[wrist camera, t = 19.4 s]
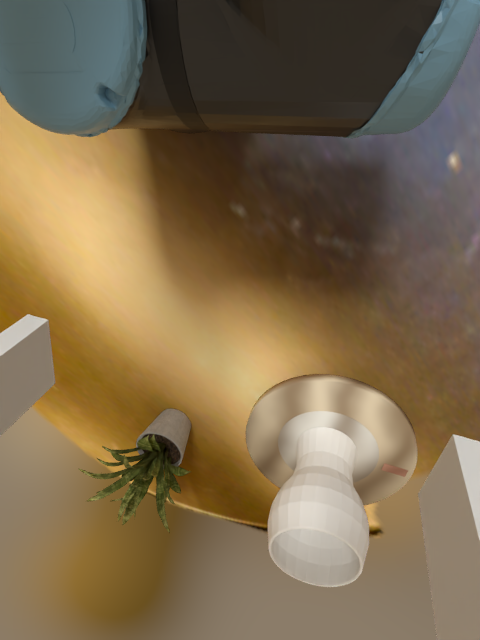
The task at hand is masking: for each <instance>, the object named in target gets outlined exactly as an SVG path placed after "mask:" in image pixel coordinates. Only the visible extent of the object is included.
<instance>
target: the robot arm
mask: <svg viewBox="0 0 480 640" xmlns="http://www.w3.org/2000/svg"><path fill="white" fill-rule="evenodd" d="M479 23H480V0H0V91H1V93H2V94H3V95H4V96H5V98H6V100H7V102H8V103H9V105H10V106H11V107H12V108H13V109H14V110H15V111H17V112H18V113H19V114H20V115H21V116H23V117H24V118H25V119H27V120H28V121H30V122H31V123H33V124H35V125H37V126H39V127H41V128H43V129H45V130H48V131H51V132H54V133H59V134H67V135H76V136H81V137H93V136H97V135H99V134H101V133H104V132H107V131H108V130H111V129H130V128H140V129H169V130H172V131H176V132H182V133H200V132H205V131H209V130H213V131H225V132H248V133H270V134H293V135H315V136H338V137H343V138H356V137H359V136H361V135H376V134H397V133H403V132H406V131H409V130H412V129H414V128H415V127H417V126H418V125H420V124H421V123H423V122H424V121H425V120H426V119H427V118H428V117H429V116H430V115H431V114H432V113H433V112H434V111H435V109H436V108H437V107H438V106H439V104H440V103H441V101H442V100H443V98H444V97H445V95H446V93H447V92H448V90H449V88H450V87H451V85H452V83H453V81H454V79H455V78H456V76H457V73H458V71H459V69H460V67H461V65H462V63H463V61H464V59H465V57H466V54H467V52H468V50H469V48H470V45H471V43H472V41H473V38H474V36H475V33H476V31H477V28H478V26H479ZM54 384H55V377H54V368H53V359H52V349H51V340H50V331H49V322H48V320H46V319H43V318H39V317H36V316H32V315H29V314H28V315H26V316H25V317H23V318H22V319H20V320H19V321H18V322H16V323H15V324H13V325H12V326H10V327H9V328H7V329H6V330H5V331H3V332H2V333H0V437H1V436H2V435H3V434H4V433H5V432H6V431H7V430H8V429H9V428H10V427H11V426H12V425H13V424H14V423H15V422H16V421H17V420H18V419H19V418H20V417H21V416H22V415H23V414H24V413H25V412H26V411H27V410H28V409H29V408H30V407H31V406H32V405H33V404H34V403H35V402H36V401H37V400H38V399H39V398H40V397H42V396H43V395H44V394H45V393H46V392H47V391H48V390H49V389H50V388H51V387H52V386H53V385H54ZM418 496H419V504H420V512H421V519H422V527H423V535H424V543H425V550H426V558H427V565H428V573H429V581H430V588H431V596H432V604H433V612H434V619H435V627H436V635H437V640H480V442H479V441H475V440H472V439H468V438H465V437H461V436H457V435H454V434H453V435H452V437H451V438H450V440H449V442H448V444H447V445H446V447H445V449H444V450H443V452H442V454H441V456H440V457H439V459H438V461H437V462H436V464H435V466H434V467H433V469H432V471H431V473H430V474H429V476H428V478H427V480H426V481H425V483H424V485H423V486H422V488H421V490H420V492H419V493H418Z"/></svg>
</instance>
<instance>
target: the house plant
mask: <svg viewBox="0 0 480 640" xmlns="http://www.w3.org/2000/svg"><path fill="white" fill-rule="evenodd" d="M190 430H191V422H190V420H189V419H188V417H187V416H186V415H185V414H184V413H183V412H181V411H179V410H176V409H166V410H164V411H163V412H162V413H161V414H160V415H159V416H158V417H157V418H156V419H155V420H154V421H153V422H152V423H151V424H150V426H149V427H148V428H147V429H146V430H145V431H144V432H143V433H142V434H141V435H140V436H139V438H138V439H137V442H136V446H137V448H134V449H127V450H111V449H108V448H106V447H103V446H102V447H103V448H104V449H106V450H107V451H109V452H111V454H112V456H113V457H114V458H115V459H116V460H118V461H121V462H119V463H108V462H104V461H102V460H100V459H98V460H99V461H100V462H101V463H103V464H105V465H107V466H119V465H123V464H124V465H125V467H126V468H127V469H124V470H122V471H118V472H115V473H110V474H94V473H90V472H87V471H85V470H81V469H79V470H80V471H82V472H83V473H85V474H86V475H88V476H91V477H93V478H97V479H109V478H114V477H117V476H119V475H122V478H121V479H120V480H118V481H116V482H115V483H113V484H112V485H110V486H109V487H107V488H105V489H104V490H102V491H99V492H97V493H99V494H97V495H96V496H94V497H92V498H90V499H89V500H87V501H95V500H98V499H101V498H104V497H105V496H107V495H109V494H111V493H113V492H115V491H116V490H118V489H120V488H121V487H123V486H124V485H126V484H127V483H128V482H129V481H132V480H133V479H134V481H133V483H132V484H131V485H130V487H129V489H128V491H127V492H126V494H125V496H124V498H121V499H117V500H122V503H121V506H120V510H119V514H118V520H120V517H121V515H122V513H123V511H124V509H125V507H126V511H125V514H124V517H123V524H125V523H126V522H127V521H128V520H129V519H130V517H131V516H132V514H133V513H134V516H135V512H136V508H137V506H138V505H139V503H140V502H141V500H142V499H143V497H144V496H145V494H146V493H147V491H148V487H149V485H150V484H151V482H152V480H153V478H154V477H156V480H157V489H156V502H157V510H158V513H159V516H160V518H161V520H162V522H163V525H164V527H165V528H166V529H167V530H168V531H169V528H168V524H167V520H166V514H165V507H164V502H166V498H167V497H168V499H169V501H170V502H171V503H173V504H174V501H173V500H172V498H171V497H170V494H169V489H170V488H171V489H172V490H174V491H175V492H177V493H181V489H180V487H179V484H178V483H177V481H176V479H175V477H174V475H173V473H174V474H175V475H177V476H183V475H186V474H187V473H189V472H191V471H187V470H185V469H183V468H180V467H178V466H179V465H180V464H181V462H182V459H183V455H184V452H185V448H186V444H187V441H188V437H189V433H190ZM137 450H138V453H139V454H140V455H139V456H133V457H125V454H124V456H122V455H119V454H123V453H129V452H133V451H137ZM141 459H142V460H141ZM138 460H140V461H139V462H138V463H137V464H135V465H133V466H130V465H129V463H128V462H134V461H138ZM163 469H164V470H163ZM164 472H165V479H164ZM164 491H165V492H164ZM117 500H112V501H117ZM174 505H175V504H174ZM169 532H170V531H169Z"/></svg>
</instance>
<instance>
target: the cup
mask: <svg viewBox="0 0 480 640" xmlns="http://www.w3.org/2000/svg"><path fill="white" fill-rule="evenodd" d="M356 455H357V450H356V446H355V444H354V443H353V441H352V440H351V439H350V438H349V437H348V436H347V435H346V434H344V433H342V432H341V431H338V430H336V429H333V428H327V427H316V428H312V429H309V430H307V431H305V432H303V433H302V434H301V435H300V436H299V438H298V440H297V447H296V464H297V465H296V468H295V470H294V473H293V475H292V476H291V477H290V478H289V479H288V480H287V481H286V482H285V483H284V484H283V486H282V487H281V489H280V490H279V492H278V494H277V495H276V497H275V499H274V501H273V503H272V505H271V510H270V514H269V518H268V550H269V553H270V556H271V559H272V560H273V562H274V563H275V564H276V566H278V567H279V568H280V569H281V570H282V571H283V572H285V573H286V574H288V575H289V576H291V577H293V578H294V579H297V580H299V581H301V582H304V583H307V584H311V585H315V586H322V587H339V586H343V585H347V584H349V583H351V582H353V581H355V580H356V579H357V578H358V577H359V575H360V574H361V573H362V569H363V565H364V562H365V558H366V554H367V550H368V546H369V524H368V519H367V515H366V512H365V509H364V506H363V503H362V500H361V499H360V497H359V495H358V493H357V492H356V490H355V488H354V486H353V479H352V473H353V470H354V466H355V460H356Z"/></svg>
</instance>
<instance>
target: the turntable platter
mask: <svg viewBox="0 0 480 640" xmlns="http://www.w3.org/2000/svg"><path fill="white" fill-rule="evenodd" d="M316 427H327V428H333V429H336V430H338V431H341V432H342V433H344V434H346V435H347V436H348V437H349V438H350V439H351V440H352V441H353V443H354V444H355V446H356V450H357V455H356V460H355V466H354V470H353V473H352V479H353V486H354V488H355V490H356V492H357V493H358V495H359V497H360V499H361V500H362V503H363V505H368V504H372V503H375V502H378V501H381V500H383V499H386V498H387V497H389V496H391V495H393V494H394V493H396V492H397V491H398V490H400V489H401V488H402V487H403V486H404V485H405V484H406V483H407V482H408V480H409V479H410V477H411V476H412V474H413V472H414V469H415V467H416V462H417V445H416V438H415V433H414V430H413V427H412V424H411V422H410V421H409V419H408V417H407V415H406V414H405V413H404V412H403V410H402V409H401V408H400V407H399V406H398V405H397V404H396V403H395V402H394V401H393V400H392V399H391V398H389V397H388V396H387V395H386V394H384V393H383V392H381V391H379V390H378V389H376V388H374V387H372V386H370V385H368V384H366V383H363V382H361V381H358V380H354V379H351V378H347V377H343V376H337V375H328V374H313V375H304V376H299V377H294V378H291V379H288V380H285V381H283V382H281V383H279V384H277V385H275V386H273V387H272V388H270V389H269V390H267V391H266V392H265V393H264V394H263V395H262V396H261V397H260V398H259V399H258V401H257V402H256V403H255V405H254V407H253V409H252V411H251V414H250V416H249V419H248V423H247V426H246V443H247V448H248V451H249V453H250V456H251V458H252V460H253V461H254V463H255V465H256V466H257V467H258V469H259V470H260V471H261V472H262V473H263V474H264V476H265V477H266V478H268V479H269V480H270V481H271V482H272V483H273V484H275V485H276V486H278V487H279V488H280V489H281V487H282V486H283V484H284V483H285V482H286V481H287V480H288V479H289V478H290V477H291V476H292V475H293V473H294V470H295V468H296V465H297V464H296V447H297V440H298V438H299V436H300V435H301V434H302V433H303V432H305V431H307V430H309V429H312V428H316Z"/></svg>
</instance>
